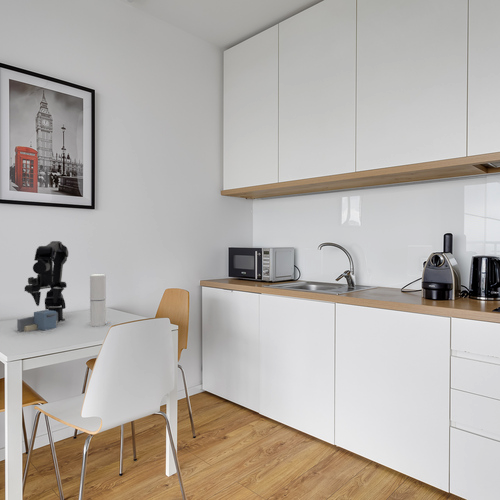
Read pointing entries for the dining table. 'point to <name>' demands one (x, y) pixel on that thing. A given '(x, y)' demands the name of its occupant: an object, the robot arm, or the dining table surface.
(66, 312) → the dining table surface
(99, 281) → the cylindrical container
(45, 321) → the blue block
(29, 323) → the wall board
